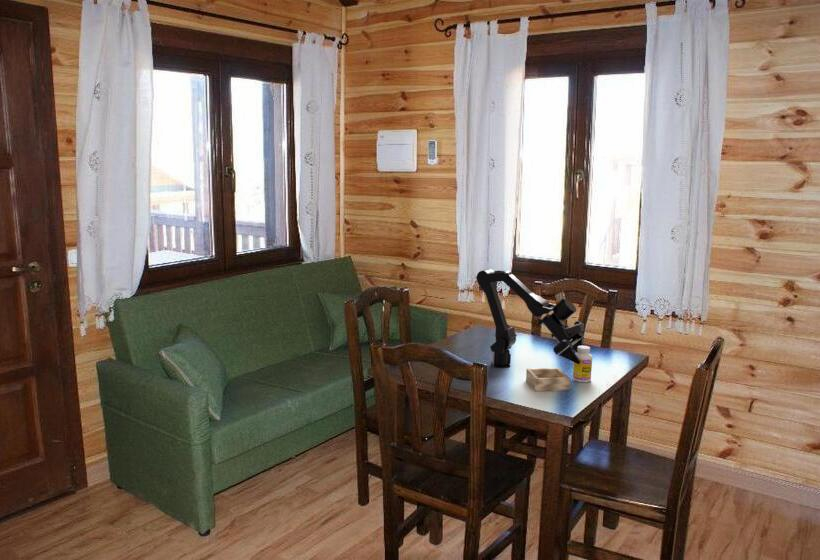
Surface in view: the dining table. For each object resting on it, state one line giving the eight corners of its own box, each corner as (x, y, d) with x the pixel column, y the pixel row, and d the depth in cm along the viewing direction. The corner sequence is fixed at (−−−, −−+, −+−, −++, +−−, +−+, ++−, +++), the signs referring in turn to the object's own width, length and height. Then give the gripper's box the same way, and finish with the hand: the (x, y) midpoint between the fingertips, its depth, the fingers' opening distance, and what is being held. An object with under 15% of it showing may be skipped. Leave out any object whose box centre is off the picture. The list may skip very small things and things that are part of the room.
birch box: (535, 391, 250) (536, 379, 249) (526, 380, 262) (526, 368, 261) (569, 390, 251) (569, 378, 251) (558, 379, 264) (558, 367, 263)
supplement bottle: (580, 383, 259) (582, 350, 257) (568, 378, 265) (570, 345, 262) (594, 381, 262) (596, 348, 260) (582, 376, 268) (584, 343, 266)
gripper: (563, 319, 254) (591, 353, 250) (580, 310, 270) (606, 342, 266) (541, 337, 260) (569, 371, 256) (559, 327, 275) (585, 359, 271)
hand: (583, 360), depth 262 cm, fingers open, 9 cm apart
